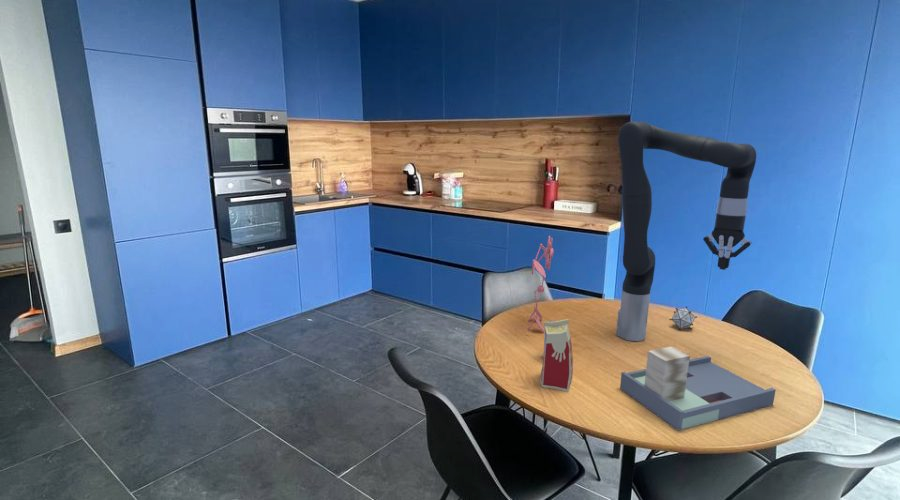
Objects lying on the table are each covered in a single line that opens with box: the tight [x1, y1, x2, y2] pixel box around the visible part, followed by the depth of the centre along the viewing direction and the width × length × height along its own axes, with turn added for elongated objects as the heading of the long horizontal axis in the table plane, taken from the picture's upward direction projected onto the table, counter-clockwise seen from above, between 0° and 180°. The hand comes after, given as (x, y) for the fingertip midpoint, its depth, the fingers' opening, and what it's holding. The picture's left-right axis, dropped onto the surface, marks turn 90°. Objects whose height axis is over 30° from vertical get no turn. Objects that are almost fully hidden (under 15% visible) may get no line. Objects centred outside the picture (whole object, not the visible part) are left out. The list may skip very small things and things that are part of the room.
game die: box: [668, 306, 698, 331], centre depth 174 cm, size 9×8×10 cm
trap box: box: [619, 355, 777, 431], centre depth 128 cm, size 33×21×5 cm, turn 110°
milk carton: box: [539, 318, 574, 393], centre depth 134 cm, size 9×9×20 cm
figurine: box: [526, 235, 562, 337], centre depth 172 cm, size 15×26×35 cm, turn 170°
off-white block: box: [644, 346, 691, 401], centre depth 122 cm, size 8×6×12 cm
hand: (722, 269), depth 141 cm, fingers closed
